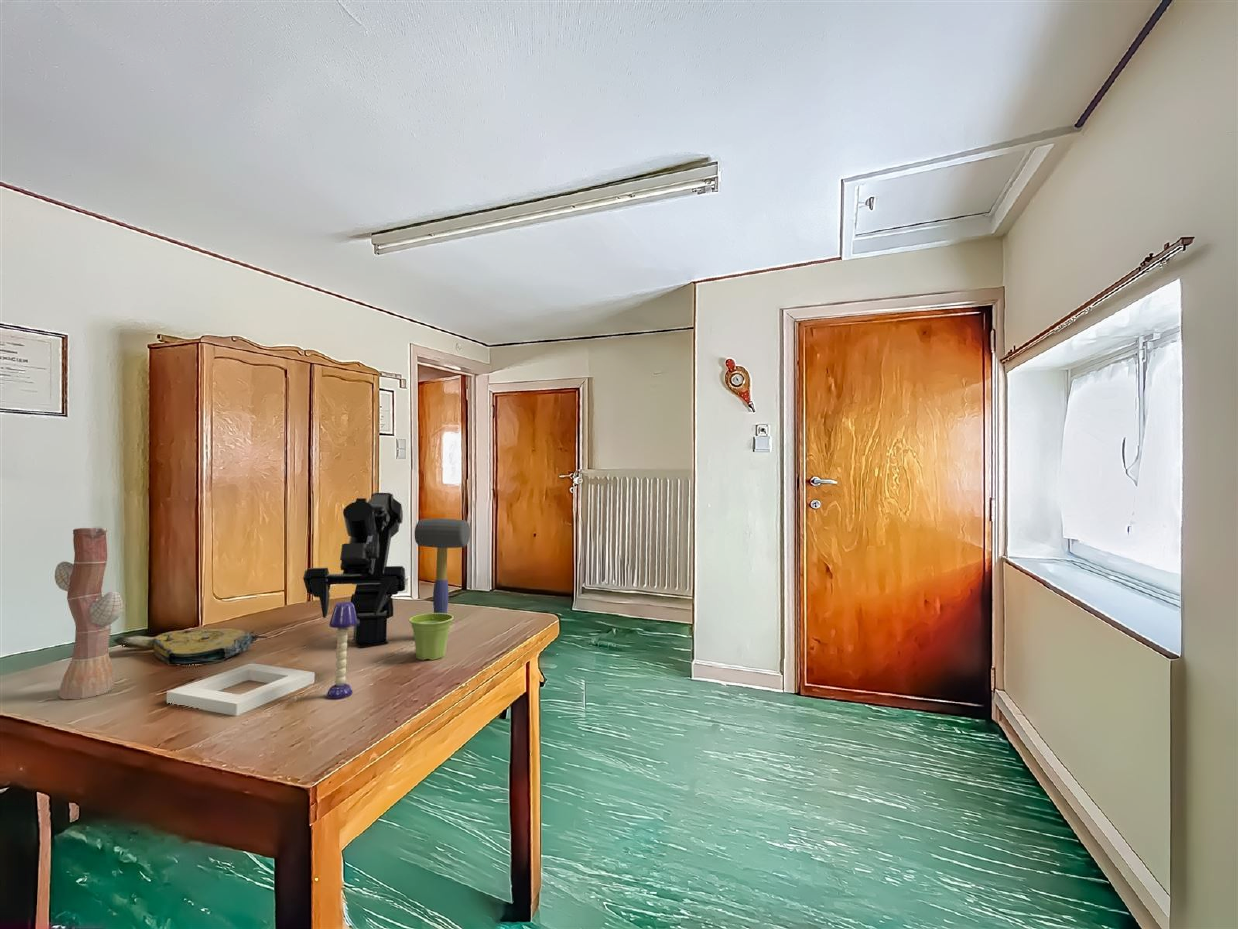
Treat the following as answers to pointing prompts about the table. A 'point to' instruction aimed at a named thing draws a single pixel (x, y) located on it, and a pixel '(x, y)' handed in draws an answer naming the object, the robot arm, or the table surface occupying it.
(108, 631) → the vase
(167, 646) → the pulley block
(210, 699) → the cutout frame
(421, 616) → the plant pot
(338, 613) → the toy lamp
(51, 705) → the table surface
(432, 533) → the rubber mallet
